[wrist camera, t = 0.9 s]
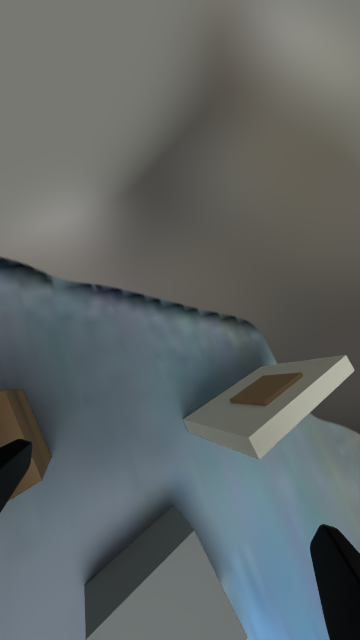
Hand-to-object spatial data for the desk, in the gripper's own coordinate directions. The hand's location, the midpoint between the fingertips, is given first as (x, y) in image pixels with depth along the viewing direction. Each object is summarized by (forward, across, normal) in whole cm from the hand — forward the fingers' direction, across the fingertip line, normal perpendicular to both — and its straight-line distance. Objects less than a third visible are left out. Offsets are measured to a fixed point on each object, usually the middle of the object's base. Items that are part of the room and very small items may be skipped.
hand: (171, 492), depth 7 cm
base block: (+6, -2, +16) cm, 17 cm away
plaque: (+15, -5, +4) cm, 16 cm away
